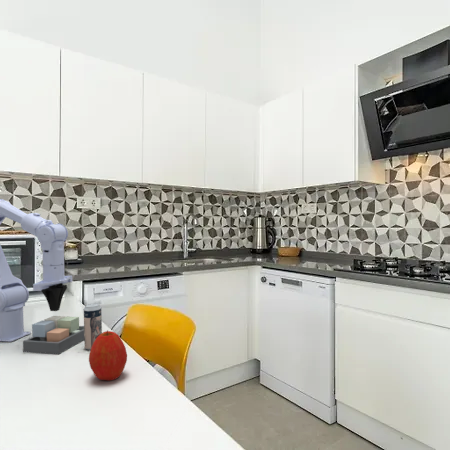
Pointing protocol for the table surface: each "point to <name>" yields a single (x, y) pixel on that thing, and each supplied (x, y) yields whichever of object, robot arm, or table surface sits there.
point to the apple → (108, 356)
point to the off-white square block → (55, 319)
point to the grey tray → (53, 343)
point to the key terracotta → (57, 334)
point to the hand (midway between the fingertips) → (54, 310)
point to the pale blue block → (42, 328)
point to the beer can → (92, 324)
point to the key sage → (69, 323)
